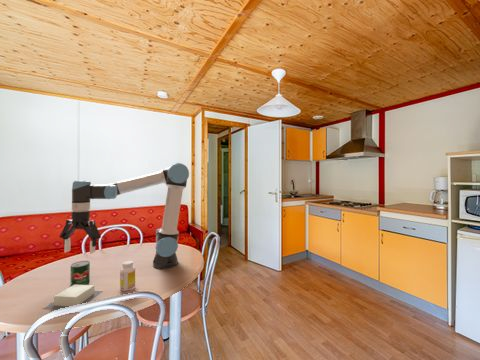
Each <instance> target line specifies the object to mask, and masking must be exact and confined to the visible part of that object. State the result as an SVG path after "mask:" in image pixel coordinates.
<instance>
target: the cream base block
mask: <svg viewBox="0 0 480 360" xmlns="http://www.w3.org/2000/svg"><path fill="white" fill-rule="evenodd" d="M94 291H95V285H93V284H87V285H76V284H74V285H72V286H71V287H70V286H69V287H67V288H65V289H64V290H62V291H60V292H59V293H57V294H56V295H54V296H53V302H54V306H73V305H77V304H81V303H82V302H83V301H85V300H86V299H88V298H89V297H91V296H92V295H93V294H94Z"/></svg>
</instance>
